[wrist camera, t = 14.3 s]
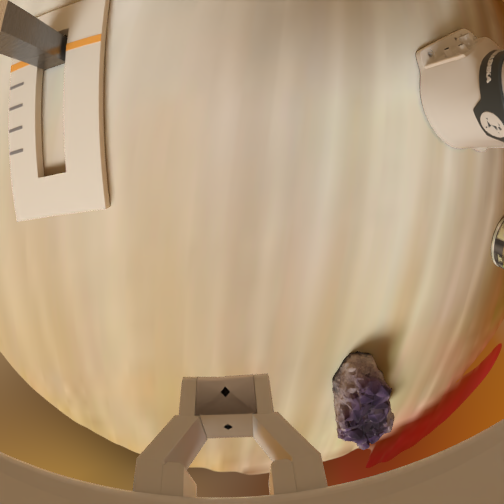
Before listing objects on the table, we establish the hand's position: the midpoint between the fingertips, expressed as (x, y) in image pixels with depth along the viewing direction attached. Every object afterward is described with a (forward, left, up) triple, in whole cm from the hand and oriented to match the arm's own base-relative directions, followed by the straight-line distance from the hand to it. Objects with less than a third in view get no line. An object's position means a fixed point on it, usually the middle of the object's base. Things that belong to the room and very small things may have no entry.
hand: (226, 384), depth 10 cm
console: (+2, -26, -27) cm, 37 cm away
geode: (+8, +37, -27) cm, 47 cm away
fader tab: (-3, -31, -27) cm, 41 cm away
